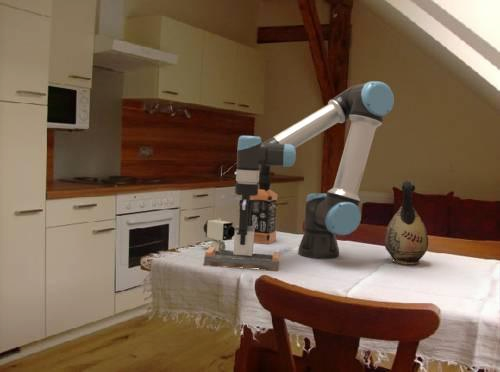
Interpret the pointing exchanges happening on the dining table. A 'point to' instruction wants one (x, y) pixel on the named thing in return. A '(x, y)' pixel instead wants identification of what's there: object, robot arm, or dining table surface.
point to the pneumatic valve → (219, 232)
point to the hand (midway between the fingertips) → (243, 252)
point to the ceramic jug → (406, 232)
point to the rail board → (241, 260)
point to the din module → (249, 240)
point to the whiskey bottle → (264, 210)
